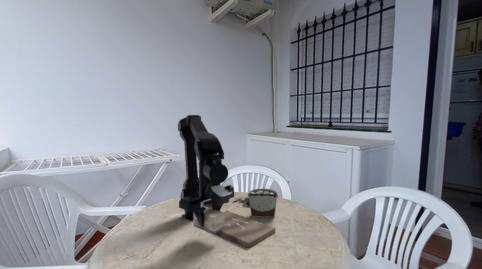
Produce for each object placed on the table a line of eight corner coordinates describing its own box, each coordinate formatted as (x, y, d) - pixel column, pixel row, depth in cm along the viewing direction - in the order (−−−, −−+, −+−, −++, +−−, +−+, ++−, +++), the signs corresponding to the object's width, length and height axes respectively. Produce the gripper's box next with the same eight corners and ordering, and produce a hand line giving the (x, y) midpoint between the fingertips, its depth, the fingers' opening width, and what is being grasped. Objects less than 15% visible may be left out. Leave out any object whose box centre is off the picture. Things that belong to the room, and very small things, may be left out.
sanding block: (193, 226, 79) (193, 211, 78) (204, 220, 83) (204, 206, 82) (214, 233, 73) (213, 217, 73) (224, 227, 77) (224, 212, 77)
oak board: (200, 225, 90) (200, 221, 89) (227, 214, 100) (227, 210, 100) (249, 248, 73) (249, 243, 73) (275, 232, 84) (275, 227, 84)
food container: (277, 211, 102) (277, 188, 102) (278, 217, 96) (278, 192, 96) (248, 210, 103) (248, 187, 103) (247, 216, 97) (247, 192, 97)
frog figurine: (264, 204, 112) (264, 196, 112) (243, 210, 105) (243, 202, 105) (248, 198, 121) (248, 190, 121) (229, 203, 114) (229, 195, 114)
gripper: (200, 187, 65) (201, 243, 66) (246, 174, 78) (246, 221, 79) (177, 180, 72) (178, 230, 73) (222, 170, 86) (223, 212, 87)
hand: (208, 223), depth 78 cm, fingers closed on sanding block, 5 cm apart
